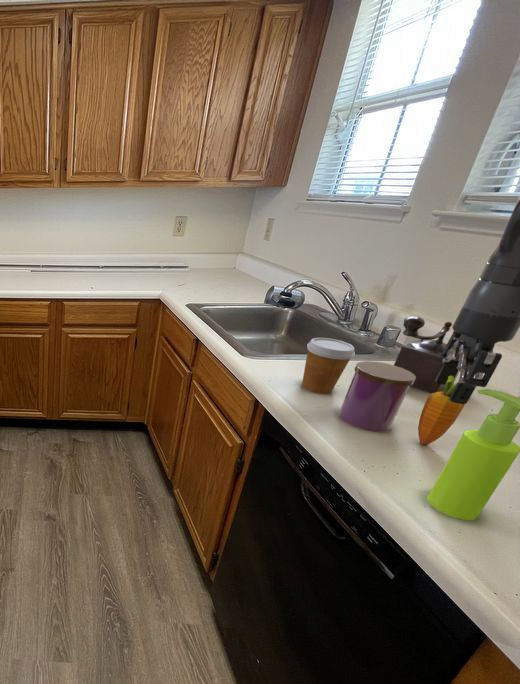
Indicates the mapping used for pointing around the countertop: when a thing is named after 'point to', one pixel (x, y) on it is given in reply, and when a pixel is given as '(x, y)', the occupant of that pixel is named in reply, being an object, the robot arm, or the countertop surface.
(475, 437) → the soap dispenser
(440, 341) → the brown manual coffee grinder
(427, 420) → the carrot
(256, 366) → the countertop surface
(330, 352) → the disposable coffee cup
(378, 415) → the jar
